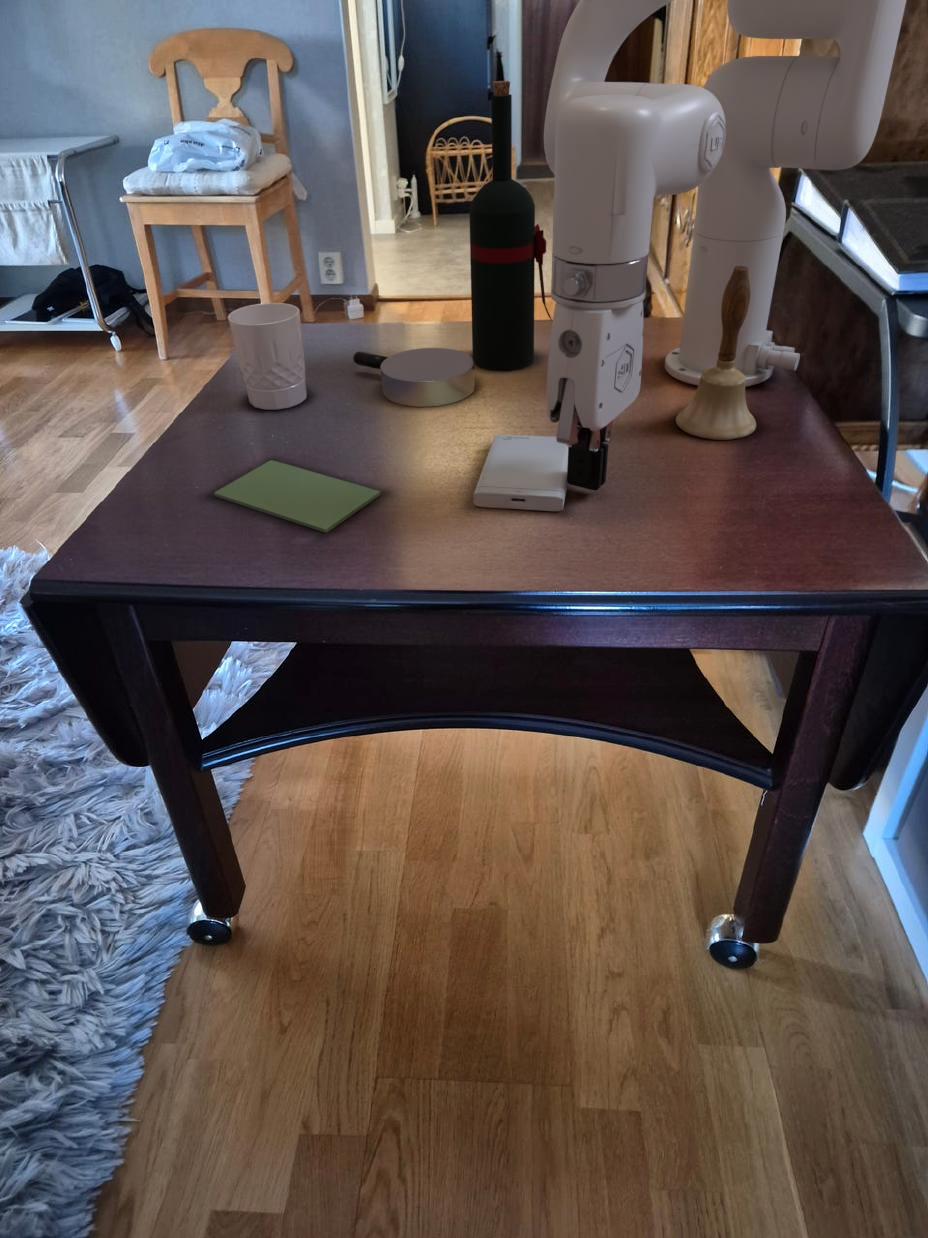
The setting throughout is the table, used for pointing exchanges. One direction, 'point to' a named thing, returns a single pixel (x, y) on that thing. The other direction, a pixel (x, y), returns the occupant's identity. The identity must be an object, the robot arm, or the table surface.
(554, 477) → the hard drive
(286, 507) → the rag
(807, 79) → the robot arm
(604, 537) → the table surface
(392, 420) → the table surface
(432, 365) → the pan
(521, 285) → the wine bottle
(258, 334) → the white cup
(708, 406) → the hand bell
